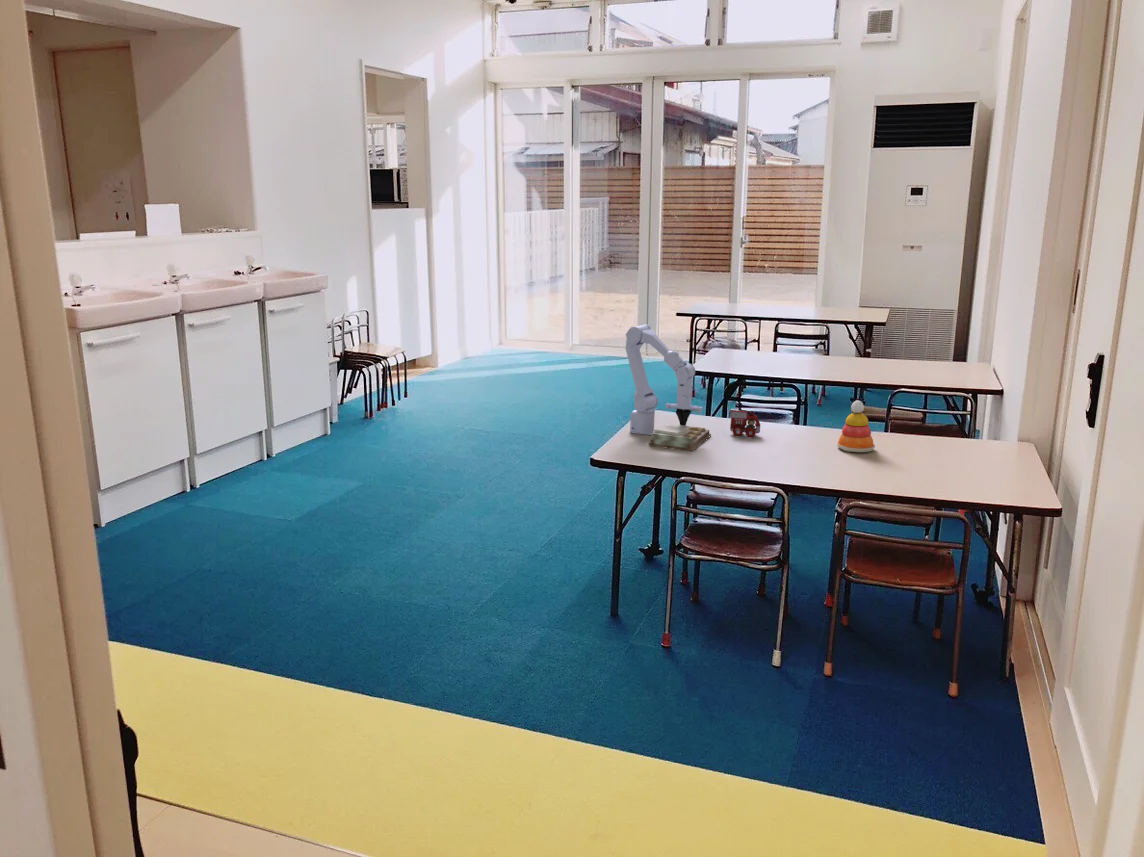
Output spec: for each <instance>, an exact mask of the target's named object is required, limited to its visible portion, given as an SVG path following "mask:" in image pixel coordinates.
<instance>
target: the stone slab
mask: <svg viewBox="0 0 1144 857" xmlns="http://www.w3.org/2000/svg"><path fill="white" fill-rule="evenodd" d="M689 432H690V426H689V425H686V426H684V425H680V424H676V423H668V422H666V423H663V424H662V425H660V426H658V427H656V428H654V433H660V434H668V435H677V436H684V435H685V434H687V433H689Z"/></svg>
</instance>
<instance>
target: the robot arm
mask: <svg viewBox="0 0 1144 857" xmlns="http://www.w3.org/2000/svg"><path fill="white" fill-rule="evenodd" d="M625 338H626V341H625V351H626V356H627V359H628V363H629V367H630V371H631V375H632V379H633V383H634V386H635V392H634V394H633V398H634V401H633V405H634V410H632V412H631V414H630V424H629V426H630V427H629V428H630V430H629V433H631V434H638V435H647V436H652V433H654V429H655V415H656V414H655V411H656V408H657V406H658V405H659V398H658V397H657V396H656V394H655V391H654V389H653V388H652V387H650V385H649V381H648V375H647V373H646V369H645V365H644V362H643V357H642V354H641V353H642V352H641V348H642V347H643V345H644V344H649V345H651V347H652V348H654V349H655V351H657V352H658V353H659V354H661V356H663V362H665V363H666V365H668V367H670V368H671V370H673V371H674V373H675V377H676V379H677V389H676V390H677V391H676V392H677V393H676V403H671V402H667V403H665V409H667V410H669V409H670V410H671V409H672V410H676V411H675V414H676V416H677V418H678V422H679V425H684V426H687V422H688V420H689V417H690V415H691V414H692V412H697V413H702V412H703V406H699V405H694V404H692V397H693V396H692V394H693V377H695V375H696V368H695V367H694V365H693V364H692V363H688V362H687V361H686V360H684V359H683V357H681V356H680V352H678V351H676V350H670V348H669V347H668V346H666V344H665V343H664V342H663V341H662V340H661V338H660V337H659V336H658V335H657V334H656V331H655V330H654V329H653V328H651V326H650V325H648V324H646V323H645V324H644V323H643V324H641V325H636V326H631V327H629V329H628V330H627V332H626V333H625Z"/></svg>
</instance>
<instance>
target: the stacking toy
mask: <svg viewBox="0 0 1144 857" xmlns="http://www.w3.org/2000/svg"><path fill="white" fill-rule="evenodd" d="M850 409H851V412H852V413H850V414H849V415H848V416H847V417H846V419H845V421H844V422H845V424H844V426H843V427H842V431H841V434H840V435H839V438H838V441H836V445H837V447H838V448H839V449H841V450H843V451H844V452H847V453H851V452H852V453H869V452H873V450H874V449H875V448H876V444H874V439H873V437H872V430H871V426H869V419H868V416H867V415H865V414H864V413H862V412H864V410H865V406H864V403H863V402H862V401H861V400H857V399H856V400H855V401H853V403H852V404H851V406H850Z"/></svg>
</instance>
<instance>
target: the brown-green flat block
mask: <svg viewBox="0 0 1144 857" xmlns="http://www.w3.org/2000/svg"><path fill="white" fill-rule="evenodd" d="M650 436H651V437H650V438H651V439H650V442H648V446H649V445H650V446H649V447H655V446H660V447H659V448H663V447H667V448H666V449H670V448H674V449H673V450H678V449H680V451H686V450H689V452H694V451H695V450H696V449H698V448H699V447H700V446H701V445H702V444H704V443H705V442H704V441H705V440H706V439H707V438H708V437H709V436H710V437H712V434H711V433H710V429H706V427H700V426H699V427H698V426H690V432H689V433H687V434H685V435H684V436H677V435H668V434H660V433H652V435H650ZM710 437H709V438H710ZM709 438H708V439H709ZM708 439H707V440H708ZM707 440H706V441H707ZM701 443H702V444H701ZM700 444H701V445H700ZM699 445H700V446H699ZM698 446H699V447H698ZM697 447H698V448H697ZM693 450H694V451H693Z"/></svg>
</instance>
